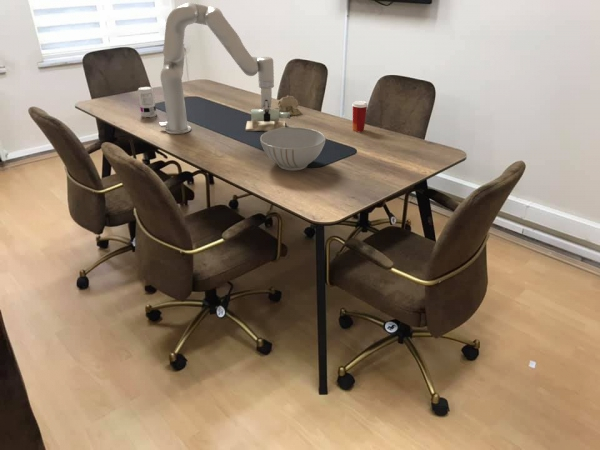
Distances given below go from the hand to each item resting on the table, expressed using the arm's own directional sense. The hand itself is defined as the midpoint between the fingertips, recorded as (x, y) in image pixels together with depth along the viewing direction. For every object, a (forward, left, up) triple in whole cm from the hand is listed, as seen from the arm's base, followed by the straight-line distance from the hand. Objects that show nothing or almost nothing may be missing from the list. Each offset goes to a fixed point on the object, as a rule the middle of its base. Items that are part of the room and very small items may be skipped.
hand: (267, 119), depth 238 cm
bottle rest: (-1, 0, -4) cm, 4 cm away
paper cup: (+46, -7, -4) cm, 47 cm away
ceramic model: (+11, +25, -4) cm, 27 cm away
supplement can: (-66, +21, -4) cm, 69 cm away
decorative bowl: (+12, -52, -4) cm, 54 cm away
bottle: (+2, 0, -1) cm, 2 cm away
